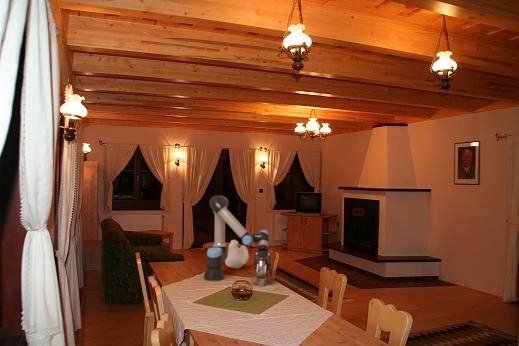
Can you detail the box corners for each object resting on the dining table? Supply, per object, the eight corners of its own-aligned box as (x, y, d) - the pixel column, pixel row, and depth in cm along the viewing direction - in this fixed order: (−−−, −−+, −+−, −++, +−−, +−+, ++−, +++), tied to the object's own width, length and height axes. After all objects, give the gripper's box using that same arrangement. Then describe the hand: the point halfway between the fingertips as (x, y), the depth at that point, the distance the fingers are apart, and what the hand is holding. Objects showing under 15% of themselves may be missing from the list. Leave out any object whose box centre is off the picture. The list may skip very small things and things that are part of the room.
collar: (251, 284, 302) (251, 277, 303) (258, 282, 312) (258, 275, 312) (264, 286, 297) (264, 279, 297) (270, 284, 307) (271, 277, 307)
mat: (260, 288, 291) (260, 287, 291) (266, 286, 300) (267, 285, 300) (273, 290, 286) (273, 289, 286) (279, 288, 295) (279, 287, 295)
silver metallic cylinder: (254, 281, 303) (255, 257, 304) (259, 280, 309) (260, 256, 310) (262, 282, 300) (263, 258, 301) (267, 281, 306) (268, 257, 307)
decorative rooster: (221, 266, 370) (223, 239, 371) (236, 265, 379) (237, 238, 380) (236, 271, 349) (237, 242, 351) (251, 270, 358) (252, 242, 360)
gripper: (274, 250, 320) (273, 276, 303) (251, 249, 321) (249, 274, 304) (274, 244, 315) (273, 270, 298) (251, 243, 316) (248, 268, 299)
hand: (261, 272), depth 301 cm, fingers closed on silver metallic cylinder, 5 cm apart
